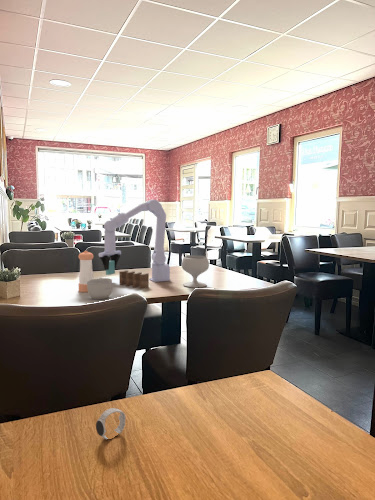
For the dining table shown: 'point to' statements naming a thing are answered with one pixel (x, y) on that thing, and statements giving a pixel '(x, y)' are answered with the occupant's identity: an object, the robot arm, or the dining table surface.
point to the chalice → (195, 269)
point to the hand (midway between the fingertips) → (110, 269)
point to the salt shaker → (85, 270)
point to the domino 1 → (111, 268)
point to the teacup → (99, 288)
